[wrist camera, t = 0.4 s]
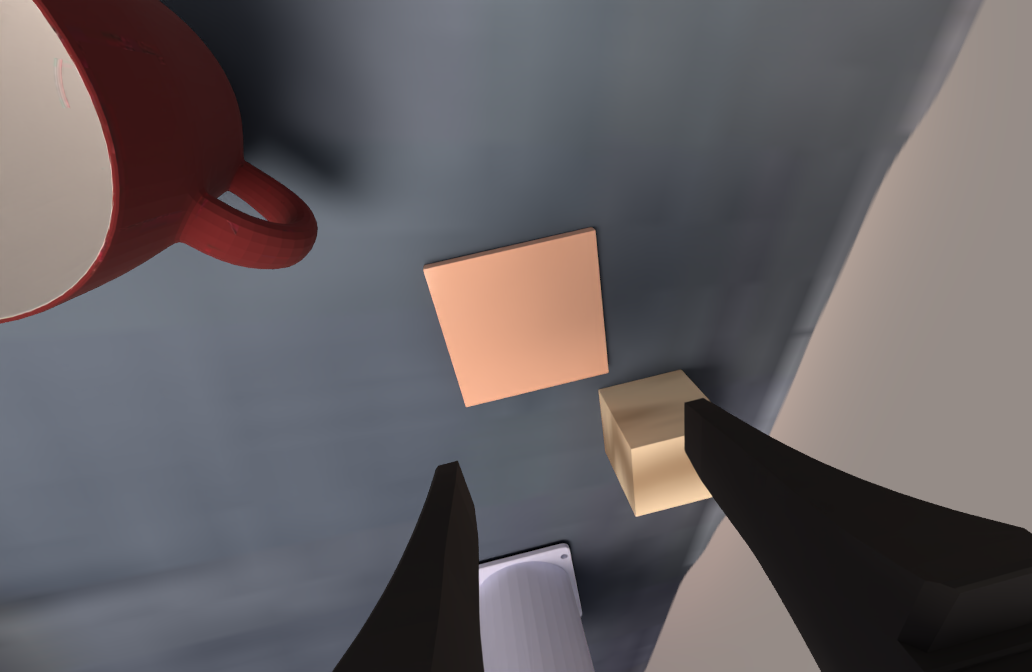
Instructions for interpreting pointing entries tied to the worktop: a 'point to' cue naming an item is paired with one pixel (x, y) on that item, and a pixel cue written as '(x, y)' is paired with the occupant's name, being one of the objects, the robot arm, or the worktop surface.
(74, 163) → the mug
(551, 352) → the coaster
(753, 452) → the robot arm
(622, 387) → the block
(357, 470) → the worktop surface
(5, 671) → the worktop surface
